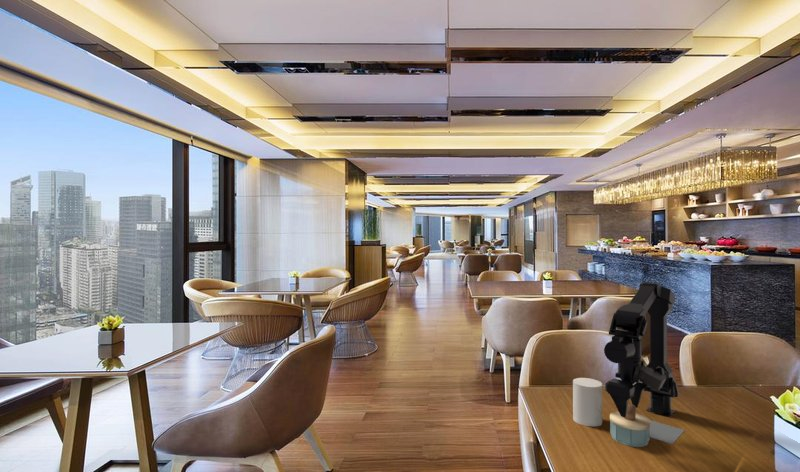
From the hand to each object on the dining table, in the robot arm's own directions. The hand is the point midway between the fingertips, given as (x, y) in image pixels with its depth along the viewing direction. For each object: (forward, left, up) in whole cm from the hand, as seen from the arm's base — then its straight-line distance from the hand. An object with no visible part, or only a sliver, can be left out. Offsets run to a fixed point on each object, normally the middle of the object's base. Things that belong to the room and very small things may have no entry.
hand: (629, 411), depth 118 cm
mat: (-11, +3, -8) cm, 14 cm away
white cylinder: (-3, -13, -8) cm, 16 cm away
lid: (0, 0, -3) cm, 3 cm away
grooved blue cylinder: (0, 0, -8) cm, 8 cm away
